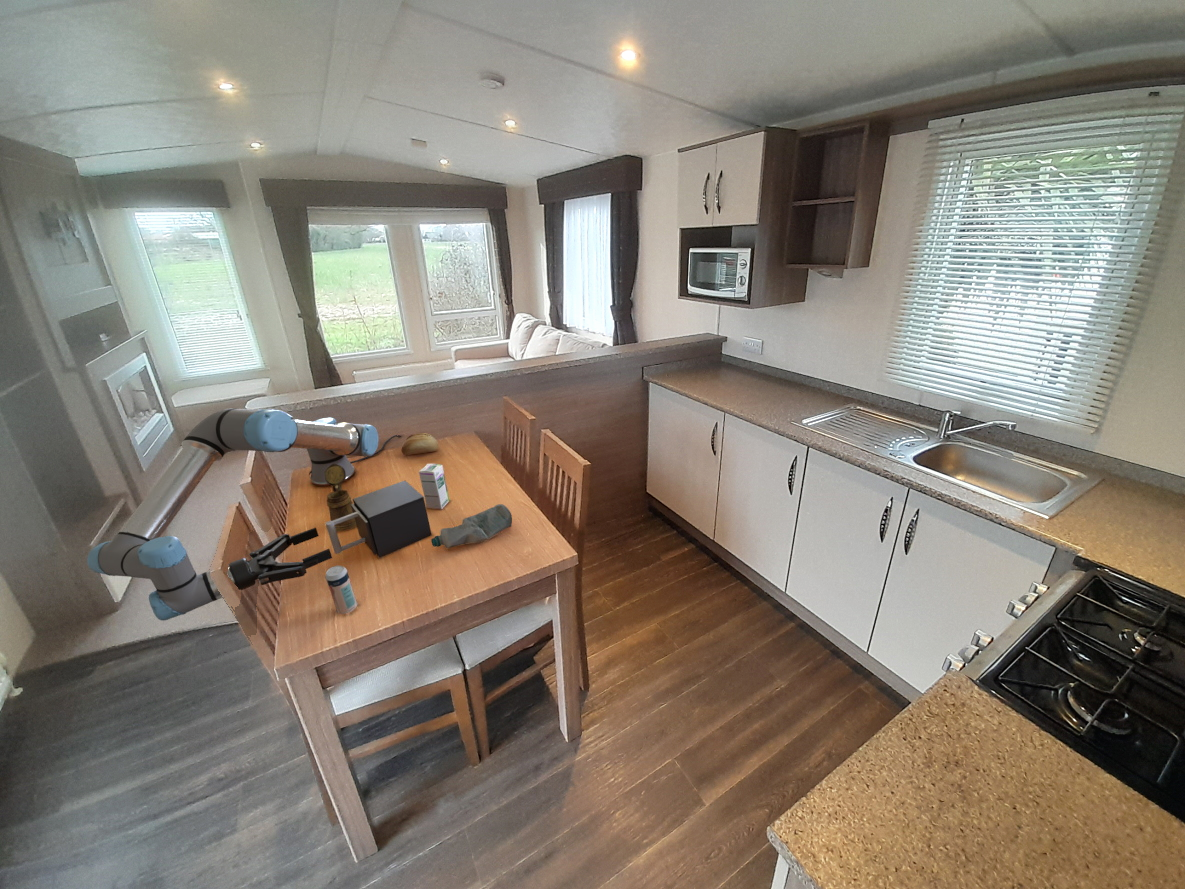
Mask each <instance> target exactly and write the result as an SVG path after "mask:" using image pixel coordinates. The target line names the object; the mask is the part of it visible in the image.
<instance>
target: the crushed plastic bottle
mask: <svg viewBox="0 0 1185 889" xmlns="http://www.w3.org/2000/svg"><path fill="white" fill-rule="evenodd" d="M512 524H513V515H512V512H511V511H510V509H509V508H508V507H507V506H506V505H505V504H503V503H499V504H496V505H494V506H493V507H492V506H491V507H489V508H487V509H485V510H483V511H481V512H478V513H477V514H474V515H471V516H468V517H464V518H463V519H462V522H461V524H459V525H456V526H452V527H444V528H441V529H440V530H439V531H440V533H439V535H435V536H434V537H433V538H431V539H430V542H431V545H432V547H433V548H435V547H437V548H439V547H441V546H443V547H445V548H446V549H447V550H449V549H451V548H455V547H459V546H463V545H467V544H468V545H469V544H479V543H481V542H485V541H487V540H489V539H491V538H492V537H495V536H496V535H498V534H500V533H501V532H503V531H504V530H506V529H507V528H511V527H512Z"/></svg>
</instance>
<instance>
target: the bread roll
mask: <svg viewBox="0 0 1185 889" xmlns="http://www.w3.org/2000/svg"><path fill="white" fill-rule="evenodd" d="M439 447H440V445H439V442H438V440H437V439H436V438H435V437H434V436H433V435H431V434H430V433H427V432H418V433H414V434H413V433H412V434H410V435H409V436H407V437H406V439H405V440H404V442H403V443H402V445H401V448H400V449H401V453H402V455H403V456H404V455H405V456H409V455H417V454H426V453H433V452H436V451H437V450H438V449H439Z"/></svg>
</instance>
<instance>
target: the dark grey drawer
mask: <svg viewBox="0 0 1185 889" xmlns="http://www.w3.org/2000/svg"><path fill="white" fill-rule="evenodd" d="M351 508H352V511H353V513H352V514H349V515H347V516H344V517H341V518H339V519H336V520H333V521H331V520H328V521H326V522H325V527H326V531H327V534H328V537H329V540H330V542H331V546H332V549H333V552H334V554H335V555H340V554H341V553H342V552H344V551H347V550H349V549H351V548H353V547H357V546H359V545H362V544H365V545H366V547H367V548H368V549H369V550H370V551H371V553H372V554H373V555H374V556H377V549H376V545H375V542H374V538H373V534H372V531H371V527H370V523H369V520H368V518H367V517H366V516H365V515H364V514H361V512H360V511H359V510H358V509H357V508H356V506H355V505H354V503H353V504H351ZM352 518H355V522H356V525H357V526H356V528H357V532H358V535H359V537H360V538H359V539H357V540H355V541H352V542H349V543H346V544H345V545H341V541H340V538H339V534H338V531H336V528H335V525H336V524H339V523H341V522H344V521H347V520H349V519H352Z"/></svg>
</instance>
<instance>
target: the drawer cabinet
mask: <svg viewBox="0 0 1185 889" xmlns="http://www.w3.org/2000/svg"><path fill="white" fill-rule="evenodd" d="M352 502H353V504H354V505H355V506H356V508H357V509H358V510H359V511H360V512H361V514H364V515H365V516H366V517H367V518H368V520H369V523H370V527H371V531H372V534H373V538H374V542H375V545H376V549H377V554H376V556H377V557H378V558H379V559H381V558H384V557H386V556H388V555H390V554H393V553H396V552H398V551H399V550H402V549H405V548H406V547H408V546H410V545H414V544H415V543H418V542H420V541H423V540H425V539H427V538H429V537H431V536H432V535H433V534H432V530H431V525H430V520H429V515H428V510H427V505H426V501H425V497H424V495H422V494H421V493H420V492H419V491H418V490H417V489H415V488H414V487H413V486H412V485H411V484H410V483H409V482H407V480H401V481H399V482H396V483H394V484H391V485H388V486H385V487H381V488H380V489H376V490H374V491H371V492H368V493H365V494H363V495H359V496H357V497H354V498H352Z"/></svg>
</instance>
